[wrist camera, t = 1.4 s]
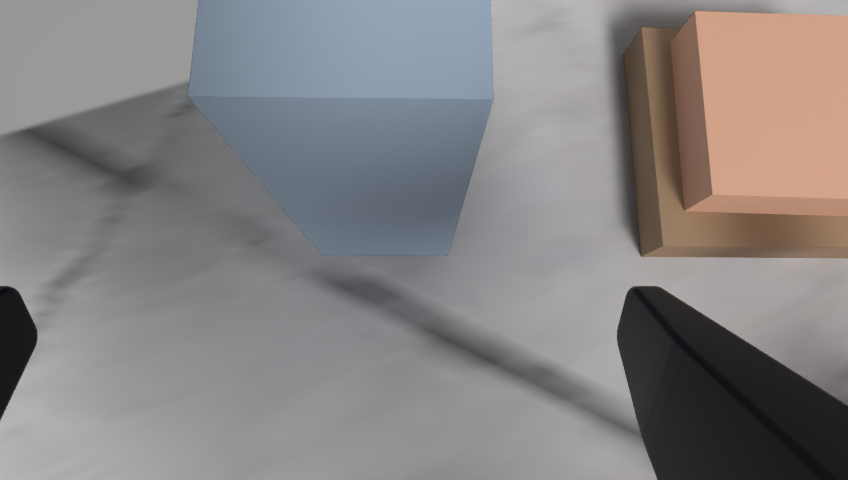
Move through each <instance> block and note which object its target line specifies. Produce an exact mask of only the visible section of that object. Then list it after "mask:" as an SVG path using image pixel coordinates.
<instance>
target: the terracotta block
mask: <svg viewBox="0 0 848 480" xmlns="http://www.w3.org/2000/svg"><path fill="white" fill-rule="evenodd" d="M671 53H672V66H673V78H674V90H675V102H676V114H677V126H678V139H679V151H680V163H681V175H682V187H683V199H684V211H695V212H725V213H755V214H787V215H819V216H848V16H833V15H802V14H771V13H740V12H710V11H695V12H694V13H693V14H692V16H691V17H690V18H689V20H688V21H687V22H686V23H685V25H684V26H683V27H682V29H681V30H680V31H679V32H678V34H677V35H676V36H675V38H674V39H673V40H672V41H671Z"/></svg>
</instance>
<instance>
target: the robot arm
mask: <svg viewBox="0 0 848 480" xmlns="http://www.w3.org/2000/svg"><path fill="white" fill-rule="evenodd" d="M617 341H618V347H619V351H620V355H621V358H622V362H623V366H624V370H625V374H626V378H627V382H628V386H629V390H630V394H631V398H632V402H633V406H634V410H635V414H636V418H637V422H638V425H639V429H640V432H641V436H642V439H643V442H644V444H645V447H646V450H647V453H648V456H649V458H650V461H651V463H652V466H653V469H654V471H655V474H656V477H657V479H658V480H848V405H846V404H845V403H843V402H841V401H840V400H838V399H837V398H835V397H833V396H832V395H830V394H829V393H827V392H826V391H824V390H822V389H821V388H819V387H818V386H816V385H814V384H813V383H811V382H810V381H808V380H806V379H805V378H803V377H802V376H800V375H799V374H797V373H795V372H794V371H792V370H791V369H789V368H787V367H786V366H784V365H783V364H781V363H780V362H778V361H776V360H775V359H773V358H772V357H770V356H768V355H767V354H765V353H764V352H762V351H760V350H759V349H757V348H756V347H754V346H753V345H751V344H749V343H748V342H746V341H745V340H743V339H741V338H740V337H738V336H737V335H735V334H734V333H732V332H730V331H729V330H727V329H726V328H724V327H722V326H721V325H719V324H718V323H716V322H715V321H713V320H711V319H710V318H708V317H707V316H705V315H703V314H702V313H700V312H699V311H697V310H695V309H694V308H692V307H691V306H689V305H688V304H686V303H684V302H683V301H681V300H680V299H678V298H676V297H675V296H673V295H672V294H670V293H669V292H667V291H665V290H664V289H662V288H660V287H657V286H634V287H632V288H630V289H629V291H628V292H627V295H626V298H625V302H624V306H623V310H622V314H621V317H620V321H619V325H618V330H617ZM36 343H37V329H36V326H35V324H34V322H33V320H32V318H31V316H30V314H29V312H28V310H27V307H26V305H25V303H24V301H23V299H22V297H21V295H20V293H19V292H18V291H17V290H16V289H14V288H12V287H9V286H0V420H1V418H2V416H3V413H4V411H5V409H6V407H7V405H8V403H9V401H10V399H11V397H12V395H13V392H14V390H15V388H16V386H17V384H18V382H19V380H20V378H21V376H22V374H23V371H24V369H25V367H26V365H27V363H28V361H29V359H30V357H31V355H32V353H33V350H34V348H35V346H36Z"/></svg>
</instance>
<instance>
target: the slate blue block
mask: <svg viewBox="0 0 848 480" xmlns="http://www.w3.org/2000/svg"><path fill="white" fill-rule="evenodd" d="M188 97H189V98H190V99H191V101H192V102H193V103H194V104H195V105H196V107H197V108H198V109H199V110H200V111H201V112H202V114H203V115H204V116H205V117H206V118H207V120H208V121H209V122H210V123H211V124H212V126H213V127H214V128H215V129H216V130H217V131H218V133H219V134H220V135H221V136H222V137H223V139H224V140H225V141H226V142H227V143H228V145H229V146H230V147H231V148H232V149H233V151H234V152H235V153H236V154H237V155H238V156H239V158H240V159H241V160H242V161H243V162H244V164H245V165H246V166H247V167H248V168H249V170H250V171H251V172H252V173H253V174H254V176H255V177H256V178H257V179H258V180H259V181H260V183H261V184H262V185H263V186H264V187H265V189H266V190H267V191H268V192H269V193H270V195H271V196H272V197H273V198H274V199H275V201H276V202H277V203H278V204H279V205H280V206H281V208H282V209H283V210H284V211H285V212H286V214H287V215H288V216H289V217H290V218H291V220H292V221H293V222H294V223H295V224H296V226H297V227H298V228H299V229H300V230H301V231H302V233H303V234H304V235H305V236H306V237H307V239H308V240H309V241H310V242H311V243H312V245H313V246H314V247H315V248H316V249H317V251H318V252H319V253H320V254H321V255H411V256H448V253H449V249H450V246H451V242H452V239H453V236H454V232H455V229H456V225H457V222H458V219H459V215H460V212H461V208H462V205H463V201H464V198H465V195H466V191H467V188H468V184H469V181H470V178H471V174H472V171H473V167H474V164H475V161H476V157H477V154H478V150H479V147H480V144H481V140H482V137H483V133H484V130H485V127H486V123H487V120H488V116H489V113H490V110H491V106H492V103H493V99H494V98H493V64H492V29H491V0H198V9H197V18H196V27H195V36H194V45H193V54H192V64H191V72H190V81H189V90H188Z"/></svg>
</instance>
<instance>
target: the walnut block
mask: <svg viewBox="0 0 848 480" xmlns="http://www.w3.org/2000/svg"><path fill="white" fill-rule="evenodd" d="M681 29H682V28H663V27H642V28H641V29H640V31H639V32H638V33H637V35H636V36H635V38H634V39H633V41H632V42H631V44H630V45H629V47H628V48H627V50H626V51H625V53H624V54H623V56H624V67H625V78H626V90H627V101H628V113H629V124H630V135H631V147H632V158H633V169H634V181H635V192H636V204H637V215H638V226H639V238H640V249H641V257H760V258H848V216H819V215H787V214H755V213H725V212H695V211H684V199H683V187H682V175H681V163H680V151H679V139H678V126H677V114H676V102H675V90H674V78H673V66H672V53H671V41H672V40H673V39H674V38H675V36H676V35H677V34H678V32H679V31H680V30H681Z"/></svg>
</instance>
